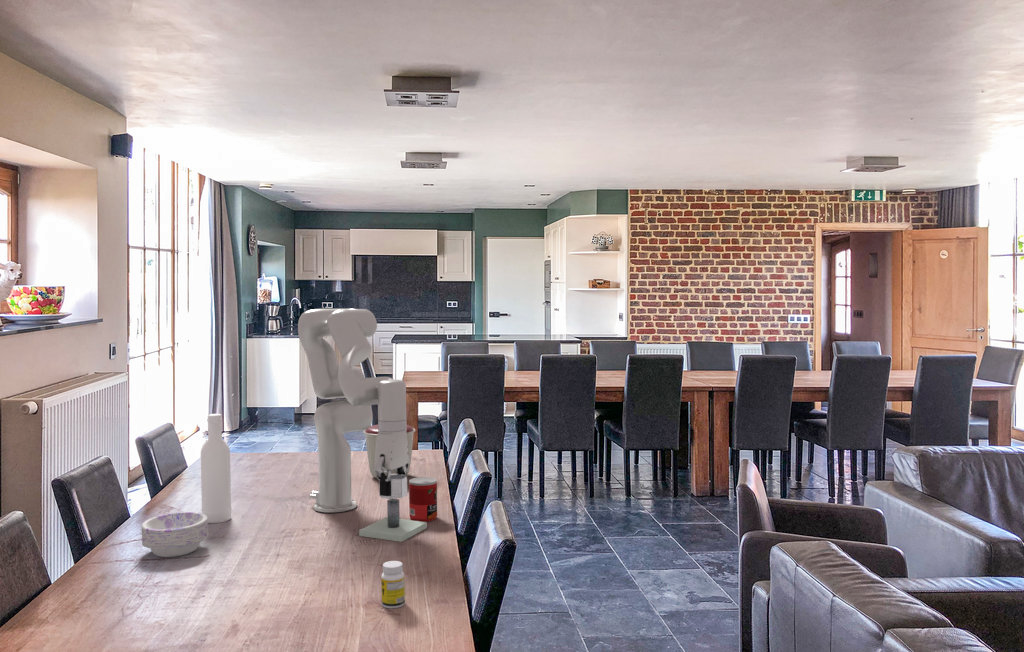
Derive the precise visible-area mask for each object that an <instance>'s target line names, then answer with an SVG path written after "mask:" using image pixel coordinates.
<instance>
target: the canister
mask: <svg viewBox="0 0 1024 652" xmlns="http://www.w3.org/2000/svg"><path fill="white" fill-rule="evenodd" d="M362 431H363V434H364V436H365V437H364V438H365V444H366V452H367V461H368V467H369V468H368V469H369V472H370V475H371V476H372V477H373V478H375V479H377V480H378V477H377V474H376V472H375V471H374V469H375V447H376V439H377V433H379V432H378V424H374V425H371V426H370V427H369V428H368V429H366V430H362ZM406 433H407V441H408V455H409V456H410V461H409V463H408V468H407V474H405V475H406V476H407V477H408V475H409V473H410V469H411V464H412V463H411V461H412V454H413V445H414V433H416V429H415V428H414V427H413V426H411V425H410V424H407V431H406ZM384 469H387V467H385V468H384ZM384 473H385V475H386V474H387V472H384ZM391 474H397V472H396V469H395V470H392V471H391Z"/></svg>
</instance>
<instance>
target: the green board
mask: <svg viewBox="0 0 1024 652" xmlns="http://www.w3.org/2000/svg"><path fill="white" fill-rule="evenodd" d="M427 526H428V522H420V521H413V520H411V519H403V518H400V526H399V527H397V528H389V527H388V523H387V517H386V516H385V517H383V518H381V519H379V520H377V521H375V522H373V523H371V524H369V525H368V526H365V527H363V528H361V529H359V531H358V532H359V533H358V534H359V537H365V538H372V539H380V540H388V541H393V542H399V543H400V542H404V541H406V540H407V539H409V538H411V537H413V536H415V535H416V534H418V533H420V532H423V530H426V529H427Z"/></svg>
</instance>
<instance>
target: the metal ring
mask: <svg viewBox="0 0 1024 652" xmlns="http://www.w3.org/2000/svg"><path fill="white" fill-rule="evenodd" d="M389 481H391V496H381V495H380V481H379V480H378V483H379V484H378V488H379V489H378V493H379V497H380V498H381V499H386V500H389V499H403V498H405V497H406V496H408V475H407V476H406V475H404V474H391V475H390V479H389Z"/></svg>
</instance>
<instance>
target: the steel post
mask: <svg viewBox="0 0 1024 652" xmlns="http://www.w3.org/2000/svg"><path fill="white" fill-rule="evenodd" d="M386 501H387V502H386V504H387V505H386V506H387V508H386V510H387V511H386V512H387V513H386V515H387V523H388V527H389V528H397V527H399V526H400V519H401V518H400V498H396V499H386Z"/></svg>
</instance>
